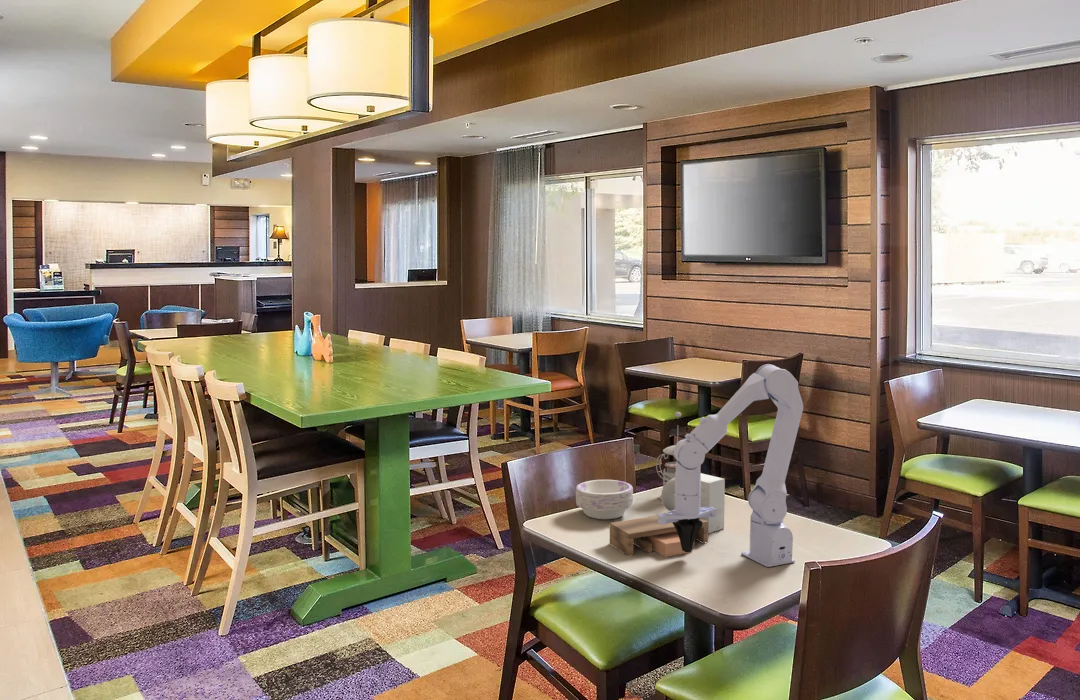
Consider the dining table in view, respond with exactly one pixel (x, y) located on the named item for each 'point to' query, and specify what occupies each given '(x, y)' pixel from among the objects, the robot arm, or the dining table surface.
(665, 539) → the cover
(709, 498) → the small box
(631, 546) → the wooden stand
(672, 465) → the french press
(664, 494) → the donut
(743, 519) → the dining table surface
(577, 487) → the paper bowls
